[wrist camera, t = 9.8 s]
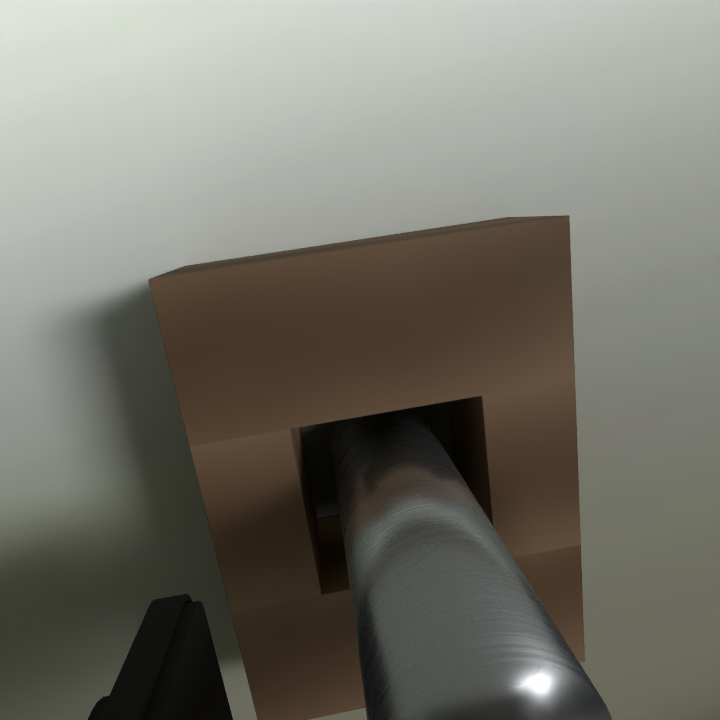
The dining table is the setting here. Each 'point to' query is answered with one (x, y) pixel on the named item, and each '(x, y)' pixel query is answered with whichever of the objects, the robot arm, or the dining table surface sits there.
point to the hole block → (367, 397)
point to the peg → (441, 589)
